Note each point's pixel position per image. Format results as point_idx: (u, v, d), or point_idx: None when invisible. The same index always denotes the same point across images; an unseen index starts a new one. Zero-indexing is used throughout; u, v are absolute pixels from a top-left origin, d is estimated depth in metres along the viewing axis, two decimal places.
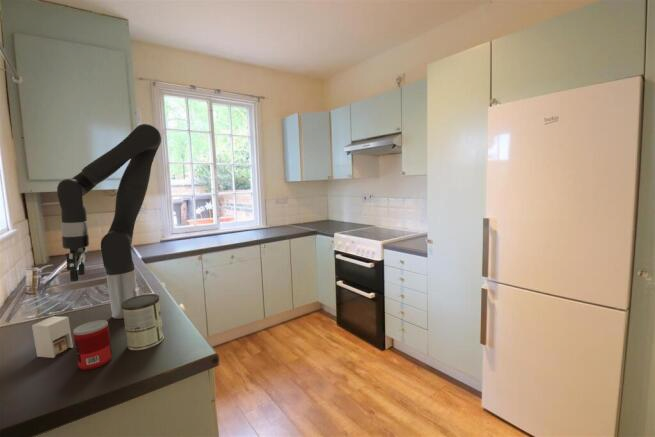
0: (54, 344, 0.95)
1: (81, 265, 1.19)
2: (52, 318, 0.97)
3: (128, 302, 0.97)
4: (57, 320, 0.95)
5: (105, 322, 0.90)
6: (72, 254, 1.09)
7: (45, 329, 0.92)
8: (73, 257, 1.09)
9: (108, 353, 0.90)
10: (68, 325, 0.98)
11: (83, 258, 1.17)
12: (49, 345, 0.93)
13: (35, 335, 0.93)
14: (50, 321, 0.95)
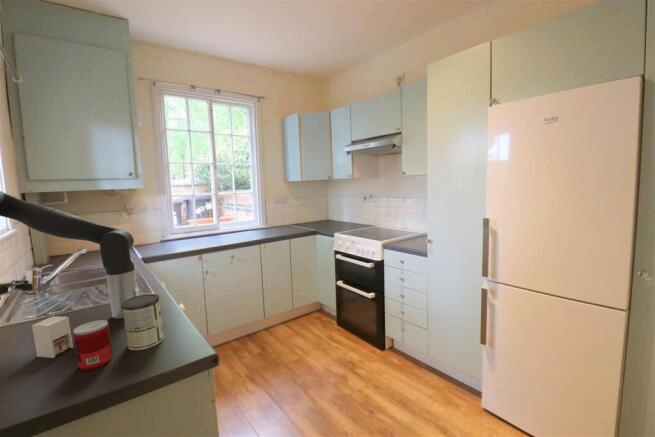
0: (54, 344, 0.95)
1: (20, 286, 1.01)
2: (52, 318, 0.97)
3: (128, 302, 0.97)
4: (57, 320, 0.95)
5: (105, 322, 0.90)
6: None
7: (45, 329, 0.92)
8: None
9: (108, 353, 0.90)
10: (68, 325, 0.98)
11: (6, 284, 1.00)
12: (49, 345, 0.93)
13: (35, 335, 0.93)
14: (50, 321, 0.95)
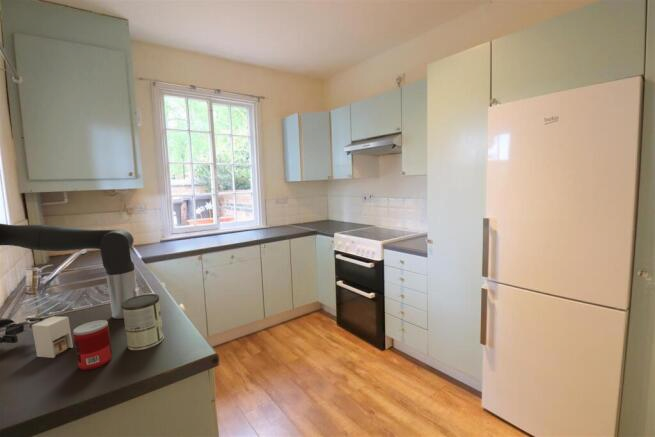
0: (54, 344, 0.95)
1: None
2: (52, 318, 0.97)
3: (128, 302, 0.97)
4: (57, 320, 0.95)
5: (105, 322, 0.90)
6: None
7: (45, 329, 0.92)
8: None
9: (108, 353, 0.90)
10: (68, 325, 0.98)
11: (22, 323, 1.01)
12: (49, 345, 0.93)
13: (35, 335, 0.93)
14: (50, 321, 0.95)
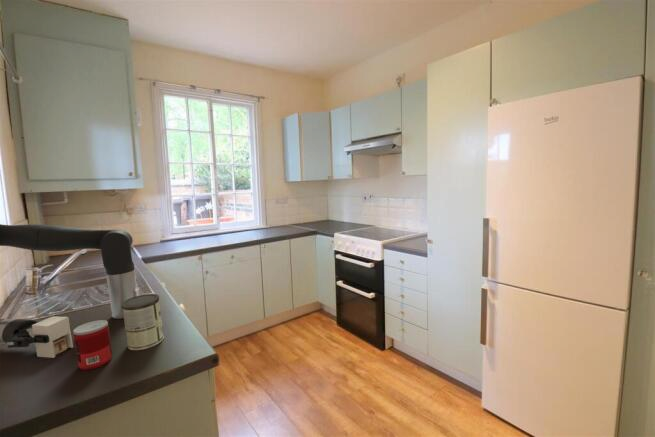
0: (54, 344, 0.95)
1: None
2: (52, 318, 0.97)
3: (128, 302, 0.97)
4: (57, 320, 0.95)
5: (105, 322, 0.90)
6: (7, 341, 0.91)
7: (45, 329, 0.92)
8: (10, 341, 0.91)
9: (108, 353, 0.90)
10: (68, 325, 0.98)
11: None
12: (49, 345, 0.93)
13: None
14: (50, 321, 0.95)
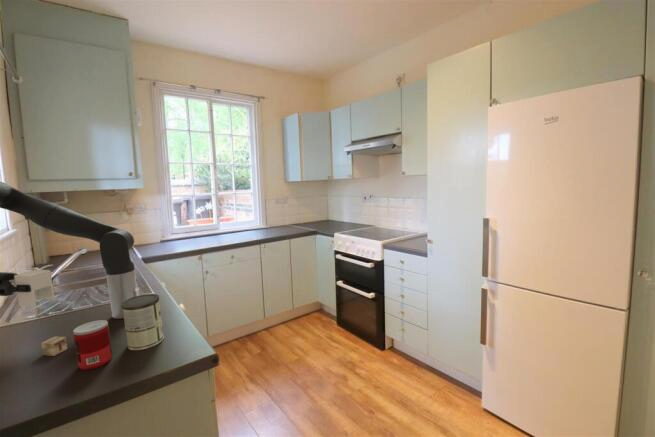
0: (54, 344, 0.95)
1: None
2: (34, 271, 1.01)
3: (128, 302, 0.97)
4: (39, 272, 0.99)
5: (105, 322, 0.90)
6: None
7: (27, 279, 0.96)
8: None
9: (108, 353, 0.90)
10: (50, 278, 1.02)
11: None
12: (30, 295, 0.97)
13: None
14: (32, 273, 0.99)
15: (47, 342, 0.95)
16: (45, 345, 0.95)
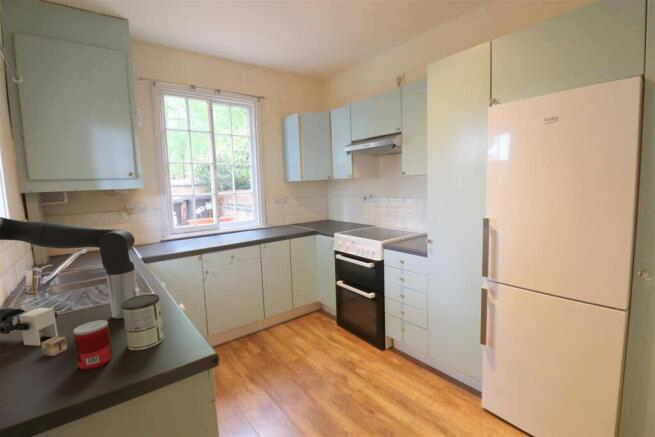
0: (54, 344, 0.95)
1: None
2: (38, 309, 1.05)
3: (128, 302, 0.97)
4: (42, 311, 1.03)
5: (105, 322, 0.90)
6: None
7: (31, 319, 1.00)
8: None
9: (108, 353, 0.90)
10: (53, 316, 1.06)
11: None
12: (35, 334, 1.01)
13: None
14: (36, 312, 1.03)
15: (47, 342, 0.95)
16: (45, 345, 0.95)
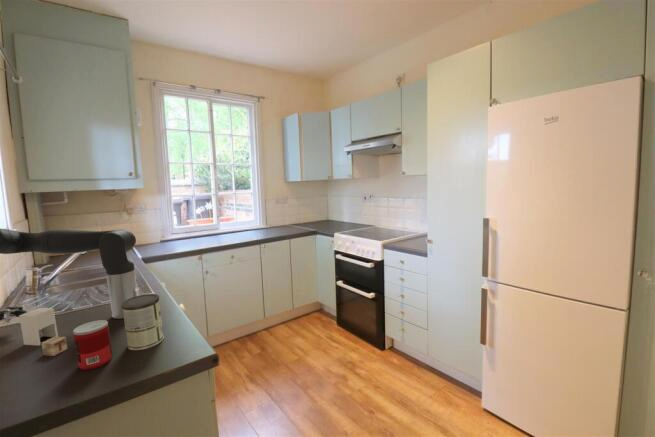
0: (54, 344, 0.95)
1: (15, 313, 1.10)
2: (38, 309, 1.05)
3: (128, 302, 0.97)
4: (42, 311, 1.03)
5: (105, 322, 0.90)
6: None
7: (31, 319, 1.00)
8: None
9: (108, 353, 0.90)
10: (53, 316, 1.06)
11: (2, 311, 1.09)
12: (35, 334, 1.01)
13: (22, 324, 1.01)
14: (36, 312, 1.03)
15: (47, 342, 0.95)
16: (45, 345, 0.95)
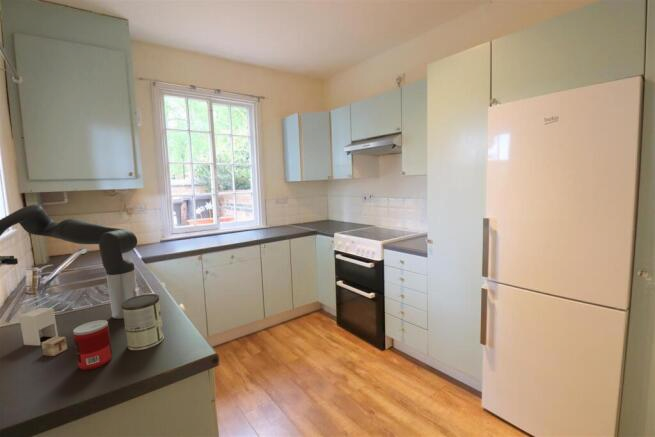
0: (54, 344, 0.95)
1: (6, 260, 1.08)
2: (38, 309, 1.05)
3: (128, 302, 0.97)
4: (42, 311, 1.03)
5: (105, 322, 0.90)
6: None
7: (31, 319, 1.00)
8: None
9: (108, 353, 0.90)
10: (53, 316, 1.06)
11: None
12: (35, 334, 1.01)
13: (22, 324, 1.01)
14: (36, 312, 1.03)
15: (47, 342, 0.95)
16: (45, 345, 0.95)
